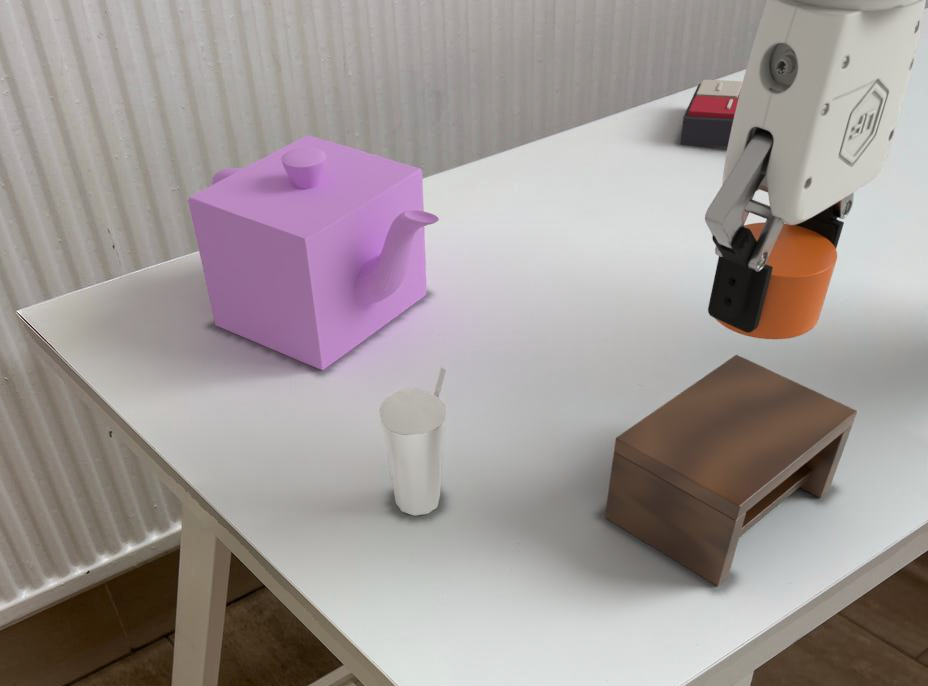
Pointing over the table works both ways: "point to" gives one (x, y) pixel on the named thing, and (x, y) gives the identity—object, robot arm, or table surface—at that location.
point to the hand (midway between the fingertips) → (767, 297)
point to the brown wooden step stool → (723, 462)
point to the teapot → (312, 247)
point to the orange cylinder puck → (793, 282)
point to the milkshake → (415, 446)
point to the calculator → (711, 113)
